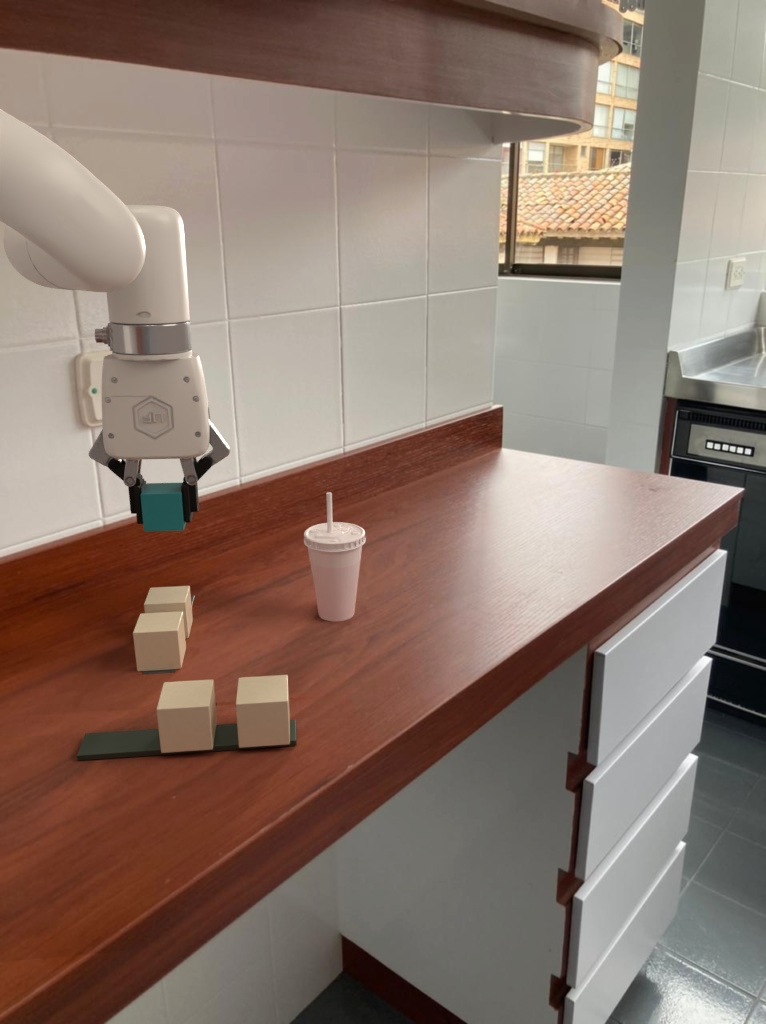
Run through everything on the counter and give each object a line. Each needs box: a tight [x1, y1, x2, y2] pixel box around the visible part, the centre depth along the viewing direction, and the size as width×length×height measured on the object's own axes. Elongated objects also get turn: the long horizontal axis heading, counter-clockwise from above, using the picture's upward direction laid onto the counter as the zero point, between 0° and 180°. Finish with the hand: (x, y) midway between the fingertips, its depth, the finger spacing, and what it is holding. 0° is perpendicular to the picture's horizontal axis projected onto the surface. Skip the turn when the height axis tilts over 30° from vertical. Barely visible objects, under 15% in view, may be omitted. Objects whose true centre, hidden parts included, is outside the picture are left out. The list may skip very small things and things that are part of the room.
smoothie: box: [303, 491, 367, 622], centre depth 85 cm, size 6×6×14 cm
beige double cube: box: [132, 585, 195, 675], centre depth 82 cm, size 4×17×4 cm, turn 6°
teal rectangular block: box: [141, 482, 187, 533], centre depth 84 cm, size 4×4×4 cm
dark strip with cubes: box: [76, 674, 297, 762], centre depth 65 cm, size 17×4×4 cm, turn 96°
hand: (165, 517), depth 85 cm, fingers closed on teal rectangular block, 4 cm apart
